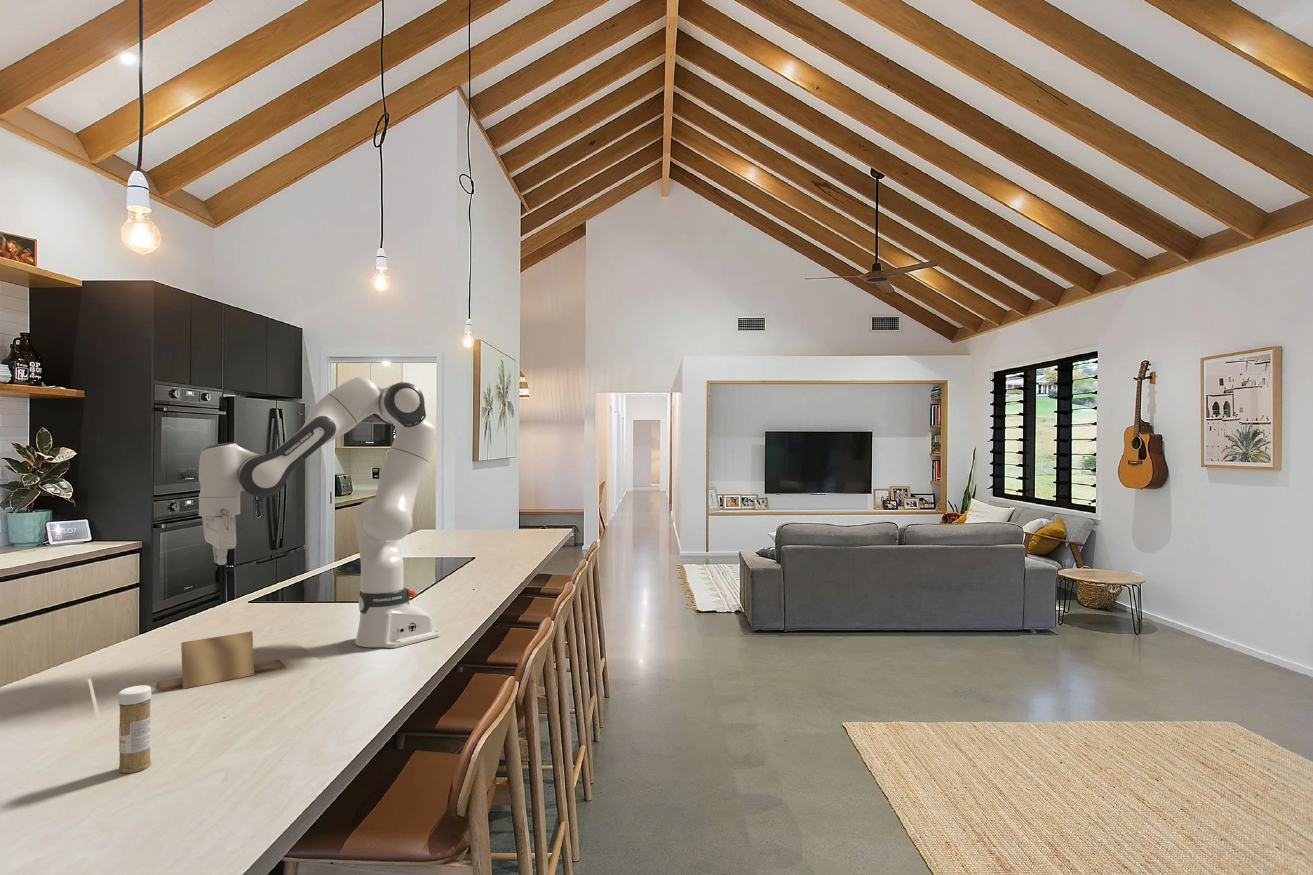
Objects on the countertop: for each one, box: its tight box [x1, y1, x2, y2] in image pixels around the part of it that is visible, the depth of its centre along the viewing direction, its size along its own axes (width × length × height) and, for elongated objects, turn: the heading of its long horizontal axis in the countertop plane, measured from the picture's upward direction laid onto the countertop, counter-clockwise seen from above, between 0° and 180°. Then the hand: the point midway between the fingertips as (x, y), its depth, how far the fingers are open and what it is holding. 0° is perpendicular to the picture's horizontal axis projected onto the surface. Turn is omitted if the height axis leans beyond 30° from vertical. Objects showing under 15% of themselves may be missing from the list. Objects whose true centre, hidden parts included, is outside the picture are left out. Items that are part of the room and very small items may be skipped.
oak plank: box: [180, 631, 255, 690], centre depth 165 cm, size 14×10×1 cm
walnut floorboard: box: [156, 659, 286, 693], centre depth 169 cm, size 25×6×1 cm, turn 131°
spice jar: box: [117, 684, 152, 774], centre depth 122 cm, size 5×5×14 cm
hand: (220, 563), depth 179 cm, fingers closed
